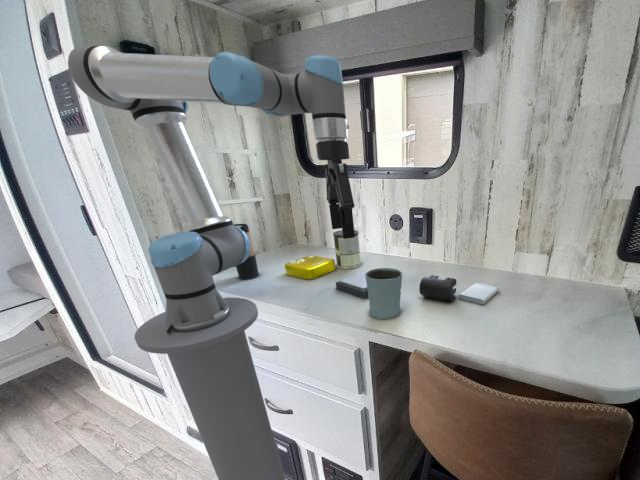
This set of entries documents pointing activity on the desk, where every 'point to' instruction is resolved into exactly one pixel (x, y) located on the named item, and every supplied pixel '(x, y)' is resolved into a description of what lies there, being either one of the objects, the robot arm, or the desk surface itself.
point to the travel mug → (249, 265)
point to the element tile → (310, 267)
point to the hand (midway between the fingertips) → (342, 233)
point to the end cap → (438, 288)
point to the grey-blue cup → (384, 292)
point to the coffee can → (347, 250)
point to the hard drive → (478, 293)
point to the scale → (354, 285)
